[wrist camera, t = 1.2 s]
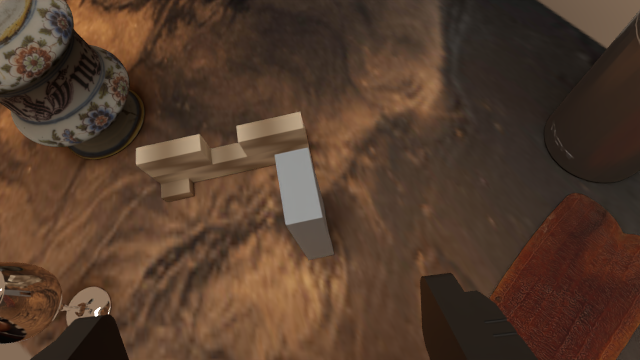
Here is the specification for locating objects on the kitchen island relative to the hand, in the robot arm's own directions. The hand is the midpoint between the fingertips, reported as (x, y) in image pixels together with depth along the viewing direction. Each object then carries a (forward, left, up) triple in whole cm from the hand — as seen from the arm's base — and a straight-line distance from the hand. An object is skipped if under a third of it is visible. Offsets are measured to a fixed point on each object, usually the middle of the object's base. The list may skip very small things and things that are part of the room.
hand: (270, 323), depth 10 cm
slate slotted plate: (0, -10, -26) cm, 27 cm away
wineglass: (+23, -7, -26) cm, 35 cm away
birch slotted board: (+7, -19, -26) cm, 33 cm away
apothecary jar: (+22, -28, -26) cm, 44 cm away
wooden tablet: (-17, +3, -26) cm, 32 cm away
